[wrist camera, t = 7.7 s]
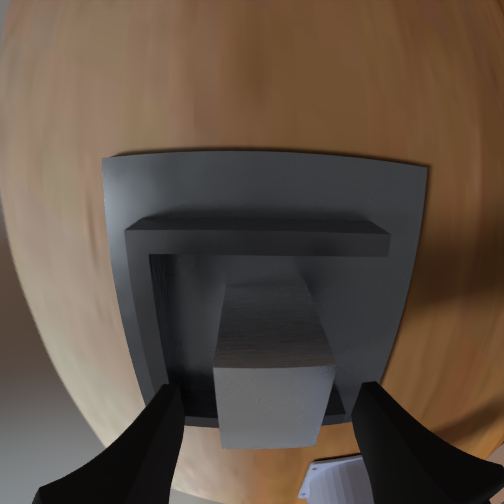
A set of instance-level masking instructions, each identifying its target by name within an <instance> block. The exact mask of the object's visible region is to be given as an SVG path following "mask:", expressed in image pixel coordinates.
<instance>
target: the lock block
mask: <svg viewBox="0 0 504 504" xmlns="http://www.w3.org/2000/svg"><path fill="white" fill-rule="evenodd" d="M336 368H337V363H336V360H335V358H334V355H333V352H332V350H331V347H330V344H329V342H328V339H327V336H326V334H325V331H324V328H323V326H322V323H321V321H320V318H319V316H318V313H317V310H316V308H315V305H314V303H313V300H312V298H311V295H310V293H309V290H308V288H307V286H226V287H225V294H224V300H223V306H222V312H221V319H220V325H219V331H218V338H217V345H216V351H215V358H214V365H213V373H214V383H215V393H216V403H217V412H218V421H219V429H220V437H221V445H222V448H226V449H275V448H294V447H307V446H315V443H316V440H317V437H318V434H319V431H320V427H321V424H322V421H323V417H324V414H325V410H326V407H327V403H328V400H329V396H330V392H331V388H332V384H333V381H334V376H335V372H336Z"/></svg>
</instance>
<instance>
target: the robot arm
mask: <svg viewBox="0 0 504 504" xmlns="http://www.w3.org/2000/svg"><path fill="white" fill-rule="evenodd" d="M351 418H352V423H353V428H354V433H355V437H356V440H357V443H358V446H359V449H360V452H361V455H357V456H351V457H345V458H339V459H331V460H323V461H315V462H312V463H311V464H310V466H309V469H308V472H307V474H306V477H305V479H304V482H303V484H302V487H301V489H300V491H299V494H298V498H307V503H308V504H491V503H490V501H489V499H490V498H491V497H493V496H494V495H495V494H496V493H498V492H499V491H500V490H501V489H502V488H503V487H504V467H503V466H502V465H500V464H496V463H493V462H489V461H486V460H483V459H480V458H477V457H475V456H472V455H470V454H468V453H466V452H463V451H461V450H459V449H458V448H456V447H454V446H452V445H450V444H449V443H447V442H445V441H444V440H442V439H441V438H439V437H438V436H436V435H435V434H433V433H432V432H430V431H429V430H428V429H427V428H425V427H424V426H423V425H422V424H420V423H419V422H418V421H417V420H416V419H414V418H413V417H412V416H411V415H410V414H409V413H408V412H407V411H406V410H405V409H403V408H402V407H401V406H400V405H399V404H398V403H397V402H396V401H395V400H394V399H393V398H392V397H391V396H390V395H389V394H388V393H387V392H386V391H385V390H384V389H383V388H382V387H381V386H380V385H379V384H378V383H377V382H376V381H372V382H364V383H362V385H361V388H360V391H359V394H358V396H357V399H356V402H355V405H354V407H353V410H352V413H351ZM184 425H185V413H184V408H183V404H182V399H181V394H180V389H179V385H171V384H163V385H161V387H160V388H159V390H158V391H157V393H156V394H155V395H154V397H153V398H152V399H151V401H150V402H149V403H148V405H147V406H146V407H145V408H144V410H143V411H142V412H141V413H140V414H139V416H138V417H137V418H136V419H135V420H134V422H133V423H132V424H131V425H130V426H129V427H128V428H127V429H126V430H125V431H124V432H123V433H122V434H121V435H120V436H119V437H118V438H117V439H116V440H115V441H114V442H113V443H112V444H111V445H110V446H109V447H107V448H106V449H105V450H104V451H103V452H102V453H100V454H99V455H98V456H96V457H95V458H94V459H92V460H91V461H90V462H88V463H87V464H85V465H84V466H82V467H80V468H79V469H77V470H75V471H74V472H72V473H70V474H68V475H66V476H65V477H63V478H61V479H58V480H56V481H54V482H51V483H49V484H47V485H44V486H42V487H40V488H39V489H38V491H37V493H36V495H35V497H34V500H33V502H32V504H169V496H170V488H171V483H172V479H173V475H174V471H175V467H176V463H177V459H178V455H179V451H180V448H181V444H182V439H183V433H184ZM501 504H504V502H503V503H501Z"/></svg>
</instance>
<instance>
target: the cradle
mask: <svg viewBox="0 0 504 504" xmlns="http://www.w3.org/2000/svg"><path fill="white" fill-rule="evenodd" d="M102 172H103V191H104V204H105V216H106V226H107V235H108V243H109V250H110V258H111V264H112V271H113V277H114V283H115V288H116V294H117V299H118V304H119V309H120V314H121V318H122V323H123V327H124V332H125V336H126V340H127V344H128V348H129V352H130V356H131V359H132V363H133V367H134V370H135V374H136V377H137V380H138V384H139V387H140V390H141V393H142V396H143V399H144V403H145V406H147V405H148V403H149V402H150V401H151V399H152V398H153V397H154V395H155V394H156V393H157V391H158V390H159V388H160V387H161V385H163V384H171V385H179V389H180V394H181V399H182V404H183V408H184V413H185V425H186V426H197V427H211V428H219V421H218V412H217V403H216V393H215V383H214V373H213V365H214V358H215V351H216V345H217V338H218V331H219V325H220V319H221V312H222V306H223V300H224V294H225V287H226V286H307V288H308V290H309V293H310V295H311V298H312V300H313V303H314V305H315V308H316V310H317V313H318V316H319V318H320V321H321V323H322V326H323V328H324V331H325V334H326V336H327V339H328V342H329V344H330V347H331V350H332V352H333V355H334V358H335V360H336V363H337V368H336V372H335V376H334V381H333V384H332V388H331V392H330V396H329V400H328V403H327V407H326V410H325V414H324V417H323V421H322V424H321V426H322V425H332V424H340V423H346V422H352V418H351V413H352V410H353V407H354V405H355V402H356V399H357V396H358V394H359V391H360V388H361V385H362V383H364V382H372V381H376V382H377V383H378V384H379V383H380V380H381V378H382V375H383V372H384V370H385V367H386V364H387V361H388V358H389V355H390V352H391V349H392V346H393V343H394V340H395V337H396V333H397V330H398V327H399V323H400V320H401V316H402V313H403V309H404V305H405V301H406V297H407V293H408V289H409V285H410V281H411V276H412V272H413V267H414V262H415V257H416V252H417V246H418V241H419V235H420V229H421V222H422V215H423V207H424V199H425V190H426V180H427V168H426V167H420V166H414V165H408V164H401V163H394V162H387V161H380V160H372V159H363V158H354V157H344V156H334V155H322V154H307V153H290V152H265V151H197V152H171V153H154V154H140V155H129V156H118V157H108V158H102Z"/></svg>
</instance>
